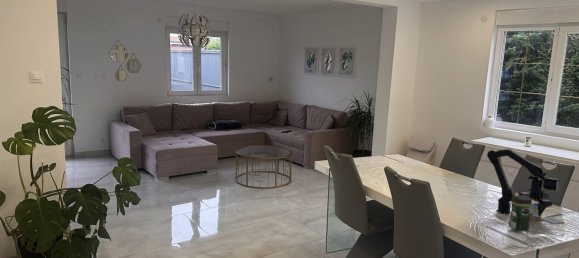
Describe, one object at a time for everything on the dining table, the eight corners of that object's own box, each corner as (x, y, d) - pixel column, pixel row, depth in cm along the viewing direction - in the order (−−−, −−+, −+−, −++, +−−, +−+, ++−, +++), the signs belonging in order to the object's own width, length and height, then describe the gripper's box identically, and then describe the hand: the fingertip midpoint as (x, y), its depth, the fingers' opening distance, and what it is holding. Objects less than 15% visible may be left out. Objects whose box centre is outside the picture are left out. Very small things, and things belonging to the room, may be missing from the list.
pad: (552, 224, 235) (552, 223, 235) (540, 219, 242) (540, 218, 242) (564, 222, 237) (564, 222, 237) (552, 218, 245) (552, 217, 245)
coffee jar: (520, 225, 230) (524, 193, 228) (531, 231, 223) (535, 197, 220) (505, 226, 229) (508, 193, 226) (515, 231, 221) (519, 197, 218)
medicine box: (530, 219, 240) (530, 204, 240) (524, 217, 244) (524, 202, 244) (541, 218, 242) (541, 203, 242) (534, 216, 247) (535, 202, 246)
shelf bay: (530, 221, 238) (530, 214, 237) (518, 216, 246) (519, 209, 245) (543, 220, 240) (544, 212, 240) (531, 215, 248) (531, 208, 248)
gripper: (561, 191, 234) (557, 217, 236) (533, 182, 252) (530, 207, 254) (546, 192, 231) (542, 219, 233) (518, 183, 249) (516, 208, 251)
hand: (533, 213), depth 243 cm, fingers open, 9 cm apart
